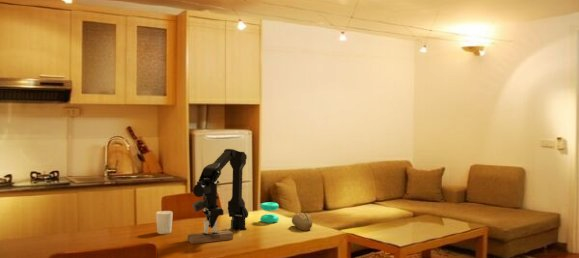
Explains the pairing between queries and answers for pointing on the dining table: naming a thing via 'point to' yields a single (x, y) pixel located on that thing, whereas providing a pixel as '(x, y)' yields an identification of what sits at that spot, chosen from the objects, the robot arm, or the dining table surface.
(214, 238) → the rail
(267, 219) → the donuts
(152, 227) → the dining table surface
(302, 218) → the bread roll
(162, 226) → the white cup
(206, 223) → the grey arch block
